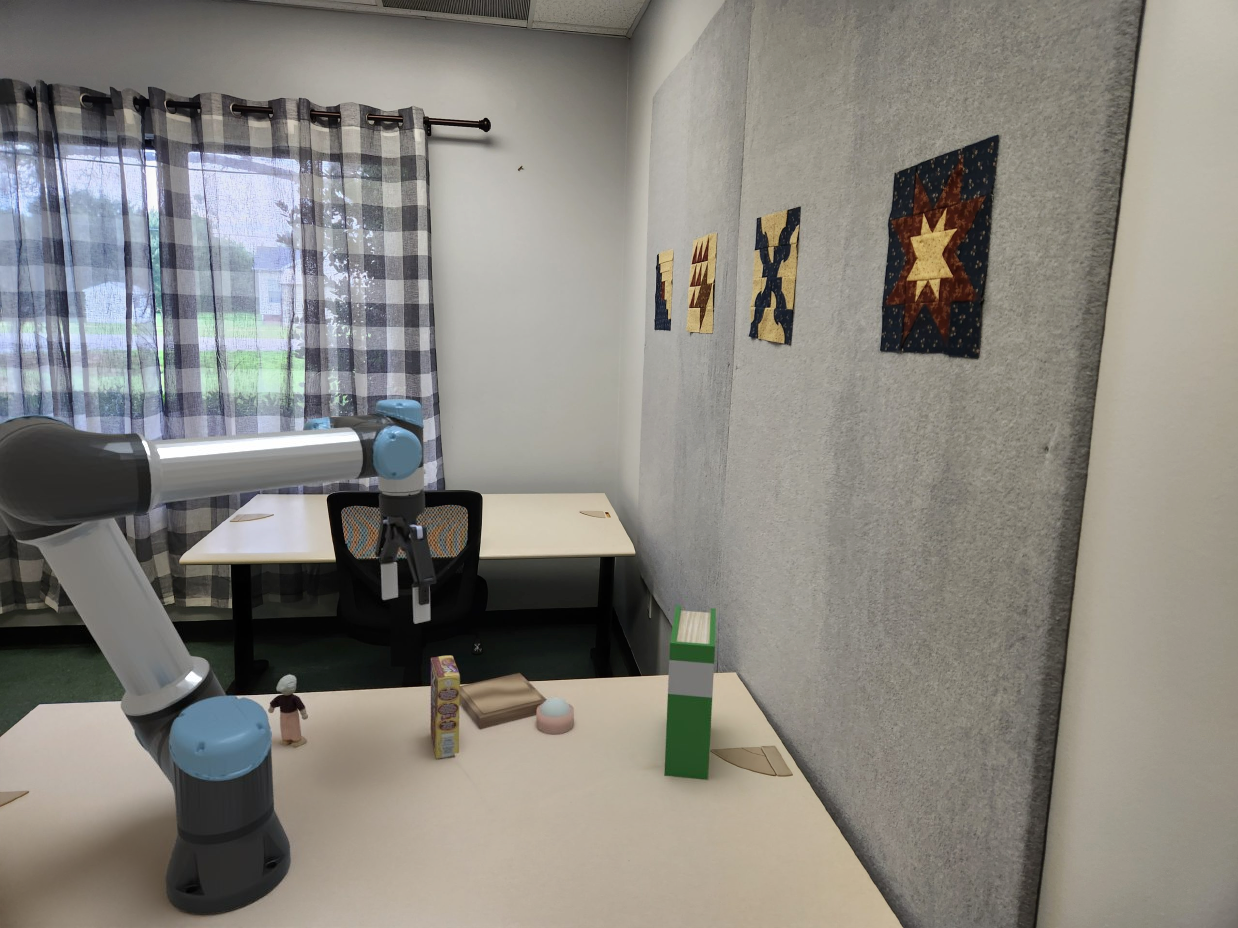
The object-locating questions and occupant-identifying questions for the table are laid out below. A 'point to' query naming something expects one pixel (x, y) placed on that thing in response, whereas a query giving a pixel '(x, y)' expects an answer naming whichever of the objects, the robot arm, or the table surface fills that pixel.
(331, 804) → the table surface
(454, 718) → the candy box
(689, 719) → the hardback book
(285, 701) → the grandmother figurine
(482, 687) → the brown tray
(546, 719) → the pincushion
